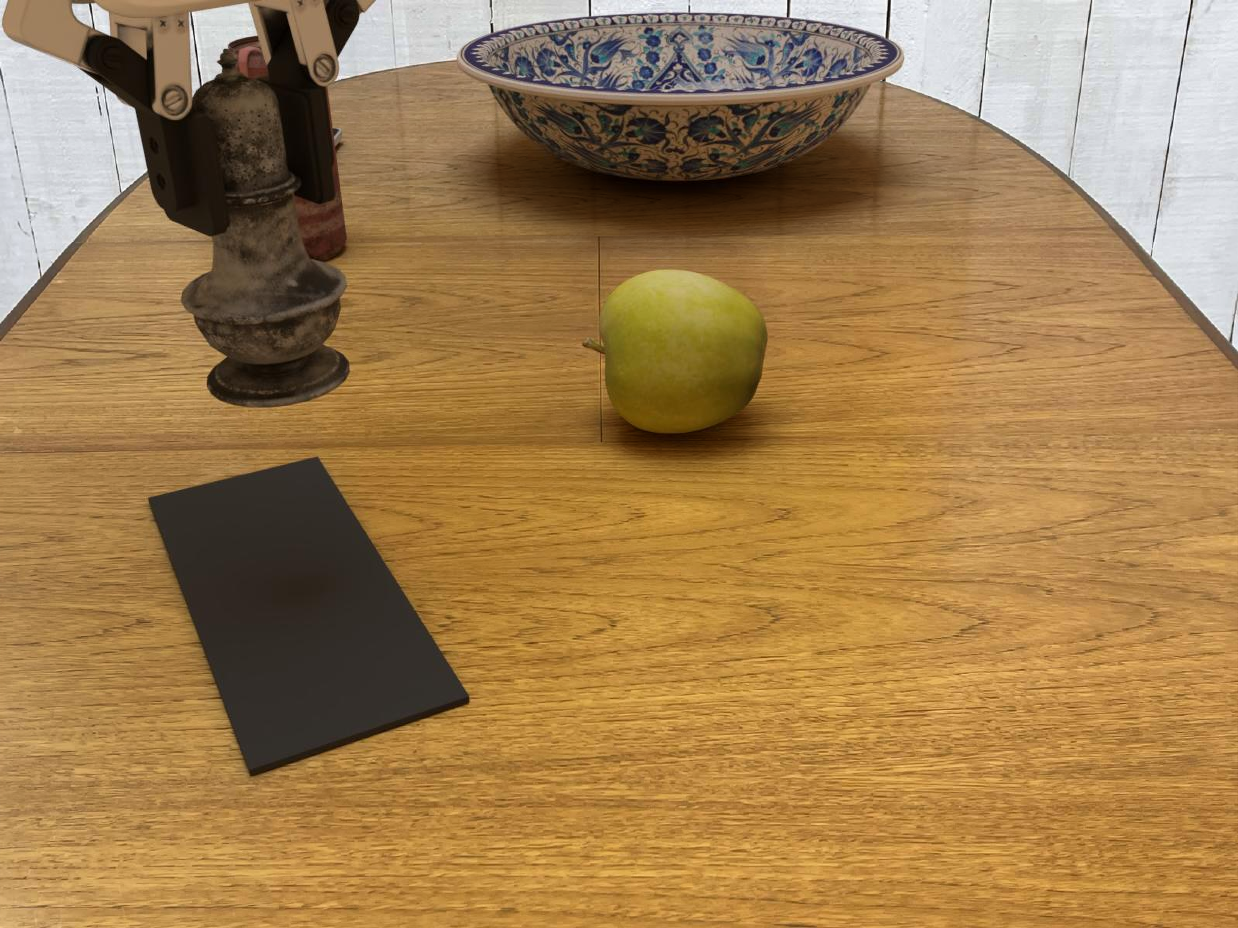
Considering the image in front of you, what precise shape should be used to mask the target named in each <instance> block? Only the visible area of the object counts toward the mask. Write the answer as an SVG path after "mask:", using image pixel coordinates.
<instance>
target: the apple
mask: <svg viewBox="0 0 1238 928" xmlns="http://www.w3.org/2000/svg"><path fill="white" fill-rule="evenodd" d="M598 317H599V318H598V331H599V336H600V339H601V341H602V343H603V345H602V344H600V343H598V342H596V341H595V340H593V339H592V337H590V336H586V337H585V340H584V341H583V342H581V346H582V347H584V348H586V349H590V350H593V351H595V352H597V353H598V354H599V353H600V354H601V355H604V366H605V367H604V381H605V382H604V383H605V387H606V392H607V396H608V399H609V400H610V403H611V404H612V407H613V408H614V409H615V411H616V412H617V413H618V415H619V416H620V417H621V418H622V419H623V420H625V421H626V422H627V423H628V424H630V425H632V426H634V427H635V428H638V429H640V430H642V431H646V432H650V433H656V434H682V433H692V432H696V431H700V430H704V429H707V428H710V427H713V426H715V425H719V424H721V423H724V422H725V421H727V420H730V419H732V418H733V417H735V416H737V415H738V414H739V413H740V412H742V411H744V409H745V408H746V407H747V406H748V405H749V404H750V402H751V401H752V400H753V398H754V397H755V395H756V392H757V390H758V387H759V384H760V382H761V379H762V376H763V369H764V362H765V357H766V350H767V345H768V341H769V340H768V339H769V338H768V335H769V333H768V329H767V324H766V323H767V322H766V320H765V317H764V315H763V314H762V312H761V310H760V309H759V307H758V306H757V305H756V304H755V303H754V302H753V301H752V300H751V299H750V298H748V297H747V296H746V295H744V294H743V293H741V292H740V291H738V290H736V289H735V288H734V287H731V286H730V285H727V284H725V283H724V282H722V281H720V280H718V279H716V278H713V277H711V276H708V275H705V274H702V273H699V272H695V271H690V270H683V269H655V270H649V271H646V272H643V273H640V274H636V275H635V276H633V277H632V276H631V277H630V278H629V279H627V280H625V281H624V282H622V283H621V284H619V285H618V286H617V287H616V288H615V289H614V290H613V291H612V292H611V293H610V294H609V295H608V296H607V298H606V299H605V301H604V302H603V304H602V307H601V309H600V311H599V316H598Z"/></svg>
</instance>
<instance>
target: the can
mask: <svg viewBox="0 0 1238 928" xmlns="http://www.w3.org/2000/svg"><path fill="white" fill-rule="evenodd" d="M227 49H228V50H229V52H231V53H232V54H233V55H234V59H238V60H239V61H238V62H237V63H236V65H235V68H236V70H237V72H242V73H244V74H245V76H247V77H251V78H255V79H256V78H259V77H263V76H268V70H267V65H266V63H265V60H264V56H263V53H262V49H261V46H260V42H259V39H258V35H257V34H256V35H251V36H246V37H242V38H238V39H235V40H233V41H231V42H230V41H229V43H228V44H227ZM325 87H326V95H327V103H328V111H329V119H330V126H331V134H332V142H333V150H334V165H333V167H332V171H333V179H334V187H335V199H334V200H333V201H330V202H326V203H323V204H317V203H314V202H311V201H308V200H305V199H303V198H300V197H297V196H294V198H295V205H296V211H297V218H298V225H299V232H300V236H301V239H302V242H303V245H304V247H305V249H306V252H307V254H308V256H309V259H313V260H317V261H321V262H325V261H328V260H330V259H333V258H334V257H337V256H338V255H339V254H341V252H342V251H343V250H344V247H345V245H346V243H347V239H348V235H347V228H346V221H345V214H344V213H345V212H344V206H343V198H342V189H341V182H340V173H339V166H338V159H337V151H336V146H335V142H334V134H333V120H332V111H331V104H330V96H329V88H328V87H329V86H325Z"/></svg>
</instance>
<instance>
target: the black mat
mask: <svg viewBox="0 0 1238 928" xmlns="http://www.w3.org/2000/svg"><path fill="white" fill-rule="evenodd" d="M147 502H148V504H149V508H150V511H151V512H152V515H153V518H154V521H155V523H156V526H157V529H158V531H159V535H160V537H161V539H162V542H163V544H164V548H165V550H166V554H167V556H168V558H169V561H170V563H171V566H172V569H173V573H174V574H175V577H176V580H177V582H178V585H179V588H180V591H181V593H182V596H183V598H184V602H185V604H186V607H187V610H188V612H189V614H190V618H191V621H192V623H193V626H194V628H195V631H196V633H197V636H198V637H197V638H198V639H199V642H200V645H201V647H202V650H203V653H204V656H205V658H206V660H207V663H208V666H209V669H210V672H211V674H212V677H213V681H214V682H215V685H216V688H217V691H218V692H219V696H220V698H221V701H222V704H223V706H224V710H225V712H226V715H227V718H228V720H229V723H230V725H231V728H232V731H233V733H234V737H235V739H236V742H237V744H238V747H239V750H240V752H241V755H242V757H243V758H242V759H243V760H244V763H245V766H246V769H247V771H248V774H249V776H251V777H252V776H254V775H257V774H261V773H263V772H266V771H269V770H272V769H276V768H278V767H281V766H284V765H287V764H290V763H294V762H296V761H299V760H303V759H305V758H308V757H311V756H314V755H316V754H317V755H318V754H321V753H323V752H326V751H329V750H332V749H334V748H338V747H341V746H344V745H347V744H350V743H352V742H356V741H358V740H361V739H364V738H367V737H371V736H373V735H376V734H379V733H382V732H385V731H388V730H390V729H393V728H397V727H400V726H402V725H405V724H409V723H411V722H415V721H417V720H420V719H423V718H426V717H429V716H432V715H435V714H438V713H441V712H444V711H447V710H450V709H453V708H456V707H458V706H462V705H465V704H468V703H470V702H471V700H470V695H469V693H468V692H467V689H465V686H464V685H463V684H462V682H461V681H460V679H459V678H458V675H457V674H456V673H455V671H454V670H453V668H452V666H451V665H450V663H449V662H448V660H447V658H446V657H445V655H444V654H443V652H442V651H441V648H440V647H439V646H438V644H437V643H436V641H435V640H434V638H433V637H432V635H431V633H430V632H429V630H428V629H427V627H426V626H425V623H424V622H423V621H422V618H421V617H420V615H419V614H418V613H417V611H416V609H415V608H414V606H413V605H412V603H411V602H410V600H409V599H408V598H409V597H407V595H406V594H405V592H404V590H403V589H402V587H401V585H400V584H399V582H398V581H397V579H396V578H395V576H394V575H393V572H392V571H391V570H390V568H389V567H388V565H387V564H386V562H385V561H384V559H383V558H382V556H381V554H380V552H379V551H378V549H377V548H376V546H375V544H374V543H373V542H372V540H371V538H370V537H369V535H368V534H367V532H366V530H365V528H363V526H362V524H361V522H360V521H359V519H358V518H357V516H356V515H355V513H354V511H353V510H352V508H351V506H350V505H349V504H348V502H347V500H346V498H345V497H344V495H343V494H342V493H341V491H340V489H339V487H338V486H337V485H336V483H335V480H333V478H332V477H331V476H330V473H329V472H328V471H327V469H326V467H325V465H324V464H323V462H322V461H321V459H320V457H319V456H313V457H310V458H305V459H302V460H297V461H292V462H288V463H285V464H281V465H276V466H272V467H268V468H264V469H260V470H255V471H251V472H248V473H244V474H243V473H242V474H238V475H236V476H230V477H226V478H222V479H218V480H215V481H211V482H207V483H202V484H199V485H195V486H189V487H186V488H181V489H178V490H174V491H173V490H172V491H169V492H165V493H161V494H157V495H152V496H149V497H147Z"/></svg>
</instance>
